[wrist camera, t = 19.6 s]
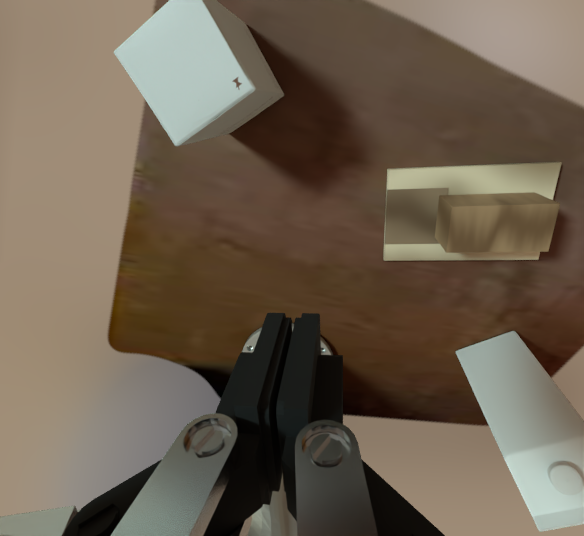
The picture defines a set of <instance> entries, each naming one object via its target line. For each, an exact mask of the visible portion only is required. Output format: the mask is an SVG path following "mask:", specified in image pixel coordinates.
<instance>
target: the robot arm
mask: <svg viewBox="0 0 584 536" xmlns="http://www.w3.org/2000/svg"><path fill="white" fill-rule="evenodd" d="M0 536H445V535H444V534H442V533H441V532H440V531H439V530H438V529H437V528H436V527H435V526H434V525H433V524H432V523H431V522H429V521H428V520H427V519H426V518H425V517H424V516H423V515H422V514H421V513H420V512H418V511H417V510H416V509H415V508H414V507H413V506H412V505H411V504H410V503H408V501H406V500H405V499H404V498H403V497H402V496H401V495H400V494H399V493H398V492H397V491H396V490H394V489H393V488H392V487H391V486H390V485H389V484H388V483H386V482H385V480H383V479H382V478H381V477H380V476H379V475H378V474H377V473H376V472H375V471H374V470H372V469H371V468H370V467H369V466H368V465H367V464H366V463H365V462H364V461H363V460H362V459H361V455H360V451H359V446H358V442H357V440H356V438H355V435H354V434H353V433H352V431H351V430H350V429H349V428H348V427H346V426H345V425H343V355H333V353H332V351H331V349H330V347H329V345H328V344H327V343H326V341H325V340H324V339H323V338H322V337H321V336H320V315H319V314H309V313H303V314H302V317H301V318H296V319H295V323H294V324H293V323H292V320H291V318H286V316H285V313H267V316H266V318H265V321H264V324H263V327H262V328H260V329H258V330H257V331H255V332H254V333H253V334H252V335H251V336H250V337H249V338H248V340H247V341H246V344H245V346H244V348H243V351H242V353H241V354H240V355H239V357H238V360H237V362H236V365H235V367H234V369H233V372H232V374H231V377H230V379H229V381H228V384H227V386H226V389H225V391H224V393H223V396H222V398H221V401H220V403H219V405H218V408H217V411H216V413H212V414H206V415H203V416H200V417H198V418H196V419H194V420H193V421H191V422H190V423H189V424H187V425H186V426H185V427H184V429H183V430H182V431H181V432H180V434H179V435H178V437H177V438H176V440H175V441H174V443H173V444H172V446H171V447H170V449H169V450H168V451H167V453H166V455H165V456H164V457H163V459H162V460H160V461H158V462H157V463H155V464H153V465H152V466H150V467H148V468H146V469H145V470H143V471H141V472H140V473H138V474H136V475H135V476H133V477H131V478H129V479H128V480H126V481H124V482H123V483H121V484H119V485H118V486H116V487H115V488H112V489H111V490H109V491H107V492H106V493H104V494H102V495H101V496H99V497H97V498H95V499H94V500H92V501H91V502H90V503H88V504H87V505H86V506H84V507H83V508H82V509H81V510H77V509H76V507H75V506H69V507H62V508H56V509H50V510H42V511H36V512H29V513H22V514H16V515H9V516H2V517H0Z"/></svg>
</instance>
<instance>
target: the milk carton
mask: <svg viewBox="0 0 584 536" xmlns="http://www.w3.org/2000/svg"><path fill="white" fill-rule="evenodd" d="M456 354H457V357H458V359H459V361H460V363H461V365H462V368H463V370H464V372H465V374H466V376H467V378H468V381H469V383H470V385H471V387H472V389H473V392H474V394H475V396H476V398H477V400H478V403H479V405H480V407H481V409H482V411H483V414H484V416H485V418H486V420H487V422H488V424H489V427H490V429H491V431H492V433H493V435H494V437H495V440H496V442H497V444H498V446H499V448H500V450H501V453H502V455H503V457H504V459H505V462H506V463H507V465H508V468H509V470H510V472H511V474H512V476H513V478H514V480H515V482H516V484H517V486H518V488H519V490H520V492H521V494H522V497H523V499H524V501H525V503H526V505H527V507H528V509H529V511H530V513H531V515H532V517H533V519H534V521H535V523H536V526H537V528H538V530H539V531H540V532H542V531H547V530H553V529H558V528H564V527H570V526H575V525H581V524H584V421H583V419H582V418H581V417H580V415H579V414H578V413H577V411H576V410H575V409H574V408H573V406H572V405H571V404H570V402H569V401H568V400H567V399H566V397H565V396H564V394H563V393H562V392H561V391H560V389H559V388H558V387H557V385H556V384H555V383H554V381H553V380H552V379H551V377H550V376H549V375H548V373H547V372H546V371H545V369H544V368H543V367H542V366H541V364H540V363H539V362H538V360H537V359H536V358H535V356H534V355H533V354H532V352H531V351H530V350H529V349H528V347H527V346H526V345H525V343H524V342H523V341H522V339H521V338H520V337H519V335H518V334H517V333H516V332H515V331H511V332H508V333H505V334H502V335H500V336H497V337H494V338H491V339H488V340H486V341H483V342H480V343H477V344H474V345H471V346H469V347H466V348H463V349H460V350H458V351H456Z"/></svg>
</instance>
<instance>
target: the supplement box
mask: <svg viewBox="0 0 584 536" xmlns="http://www.w3.org/2000/svg"><path fill="white" fill-rule="evenodd" d="M114 54H115V55H116V57H117V58H118V60H119V61H120V62H121V64H122V65H123V67H124V68H125V70H126V71H127V73H128V74H129V76H130V77H131V79H132V80H133V82H134V83H135V85H136V86H137V88H138V89H139V91H140V92H141V93H142V95H143V97H144V98H145V100H146V101H147V103H148V104H149V106H150V107H151V109H152V111H153V112H154V114H155V115H156V117H157V118H158V120H159V121H160V123H161V125H162V126H163V128H164V129H165V131H166V132H167V134H168V135H169V137H170V139H171V140H172V142H173V143H174V145H175V146H181V145H186V144H191V143H194V142H198V141H202V140H206V139H210V138H214V137H217V136H222V135H226V134H229V133H231V132H233V131H234V130H236V129H237V128H239V127H240V126H242V125H243V124H245V123H246V122H248V121H249V120H250V119H252V118H253V117H255V116H256V115H258V114H259V113H260V112H262V111H263V110H265V109H266V108H267V107H269V106H270V105H272V104H273V103H275V102H276V101H277V100H279V99H280V98H282V97H283V96H284V93H283V91H282V89H281V88H280V86H279V84H278V82H277V80H276V78H275V77H274V75H273V73H272V71H271V69H270V67H269V65H268V64H267V62H266V60H265V58H264V56H263V54H262V53H261V51H260V49H259V47H258V45H257V44H256V42H255V40H254V38H253V36H252V34H251V33H250V31H249V29H248V27H247V26H246V24H245V23H244V22H243V21H242V20H240V19H239V18H238V17H236V16H235V15H234V14H233V13H231V12H230V11H229V10H228V9H226V8H225V7H224V6H222V5H221V4H220V3H219V2H217V1H216V0H169V1H168V2H167V3H166V4H165V5H164V6H163V7H162V8H161V9H159V10H158V11H157V12H156V13H155V14H154V15H153V16H152V17H151V18H150V19H149V20H147V22H145V23H144V24H143V25H142V26H141V27H140V28H139V29H138V30H137V31H135V32H134V33H133V34H132V35H131V36H130V37H129V38H128V39H127V40H126V41H125V42H124V43H122V44H121V46H119V47H118V48H117V49H116V50H115V51H114Z"/></svg>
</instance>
